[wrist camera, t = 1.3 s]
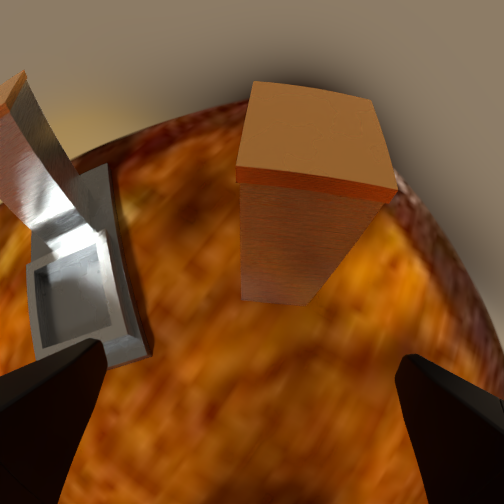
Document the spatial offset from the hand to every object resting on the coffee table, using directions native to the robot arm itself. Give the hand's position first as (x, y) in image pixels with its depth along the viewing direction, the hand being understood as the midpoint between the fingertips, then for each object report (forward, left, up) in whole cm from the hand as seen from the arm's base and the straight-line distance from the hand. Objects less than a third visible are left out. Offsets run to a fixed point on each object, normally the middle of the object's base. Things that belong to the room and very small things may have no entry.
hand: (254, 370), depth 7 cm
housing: (+18, +2, -13) cm, 22 cm away
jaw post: (+3, -8, -13) cm, 16 cm away
